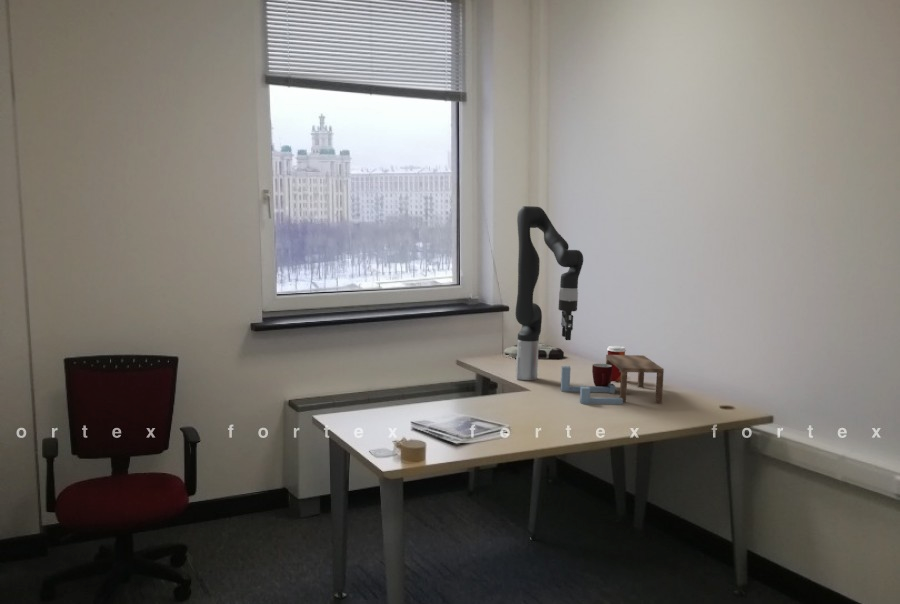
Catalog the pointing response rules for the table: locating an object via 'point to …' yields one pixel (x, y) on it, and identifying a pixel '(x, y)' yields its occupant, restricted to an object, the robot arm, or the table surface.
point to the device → (543, 352)
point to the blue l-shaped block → (587, 399)
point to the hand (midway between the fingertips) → (566, 338)
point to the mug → (601, 374)
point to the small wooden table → (636, 365)
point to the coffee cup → (615, 371)
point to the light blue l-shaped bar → (567, 388)
